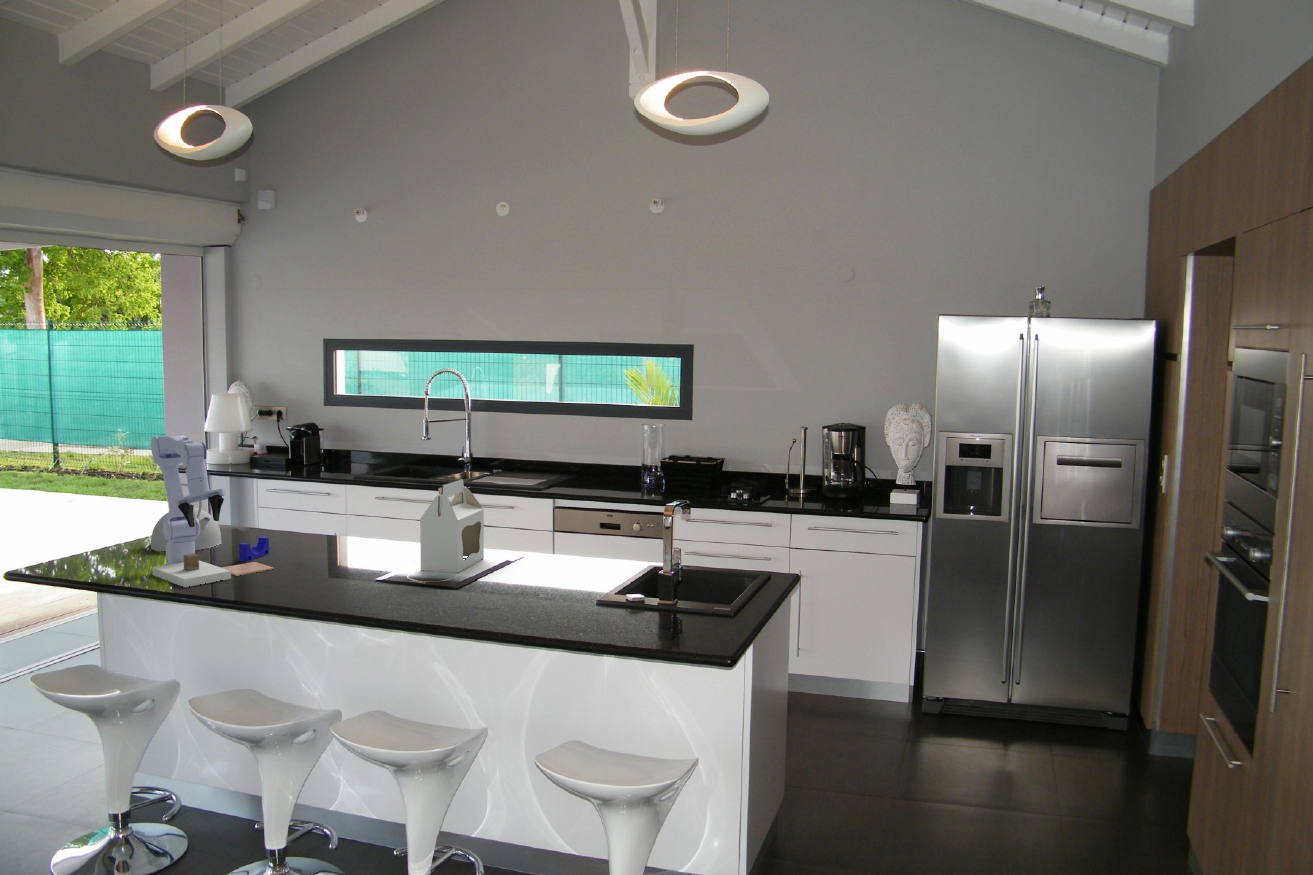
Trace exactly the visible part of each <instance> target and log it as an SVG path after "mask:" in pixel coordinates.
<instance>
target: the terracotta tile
mask: <svg viewBox="0 0 1313 875" xmlns="http://www.w3.org/2000/svg"><path fill="white" fill-rule="evenodd" d="M221 568H223V569H226V570H229V571H231V575H233V576H236V577H240V575H241V576H245V575H250V574H256V572H257V573H262V572H267V570H268V571H272V569H275V568H274V567H273V566H269V565H267V564H263V563H260V562H256V561H252V562H246V563H241V564H236V565H235V564H233V565H229V566H223V567H221Z"/></svg>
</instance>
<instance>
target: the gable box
mask: <svg viewBox="0 0 1313 875" xmlns="http://www.w3.org/2000/svg"><path fill="white" fill-rule="evenodd" d="M464 484H465V483H464V479H462V478H461V479H457V480H455V481H451V482H448V483H446V484H443V485H442V486H441V487H439V488H437V491H438V493H439V494H437V495H436V496H435V497H434V499H432V502H431V503H430V504H429V506H428V507H427V508H426V510H425V511H424V513H423V514H422V515H421V517H420V520H419V523H420V528H419V529H420V531H419V532H420V533H419V534H420V538H419V540H420V571H421V570H424V571H423V572H435V571H441V572H440V573H450V572H459V573H461V572H462V570H463V569H464V570H466V569H468V568H470V567H472V566H473V565H475V564H477V563H478V562H480V561H482V560H483V559H484V558H485V557H484V556H485V555H484V553H485V552H484V549H485V546H484V544H485V542H484V541H485V540H484V537H485V536H484V534H485V531H484V529H485V527H484V526H485V524H484V520H485V517H484V516H485V515H484V513H485V510H484V508H483V507H482V506H481V504H480V503H479V501H478V499H477V498H476V496H474V494H473V492H472V491H471V490H470V489H469V488H468V487H466V486H464ZM452 497H453V499H452V501H451V502H450V500H449V498H452ZM463 556H468V557H467V558H463ZM463 559H465V560H463ZM481 559H482V560H481ZM479 560H480V561H479ZM477 561H478V562H477ZM476 562H477V563H476ZM472 564H473V565H472ZM469 566H470V567H469ZM467 567H468V568H467ZM425 570H426V571H425ZM464 570H463V571H464ZM460 571H461V572H460Z"/></svg>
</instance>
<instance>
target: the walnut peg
mask: <svg viewBox="0 0 1313 875" xmlns="http://www.w3.org/2000/svg"><path fill="white" fill-rule="evenodd" d="M183 556H184V570H186V571H192V570H198V569H199V560H200V558H199V557H200V555H199V554H197V553H195V554H188V555H183Z"/></svg>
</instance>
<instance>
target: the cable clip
mask: <svg viewBox="0 0 1313 875" xmlns="http://www.w3.org/2000/svg"><path fill="white" fill-rule="evenodd" d="M238 551H239V553H238V554H239V557H238V558H239V562H250V561H253V560H255V559H258V558H257V557H259V558H261V557H260V556H262V557H264V556H266V554H267V555H269V554H270V538H269V536H268V537H267V536H259V537H258V538H257V544H256V545H253V546H252V547H251V544H250V543H249V542H248V543H246V542H241V543H238ZM268 553H269V554H268ZM252 559H253V560H252Z"/></svg>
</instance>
